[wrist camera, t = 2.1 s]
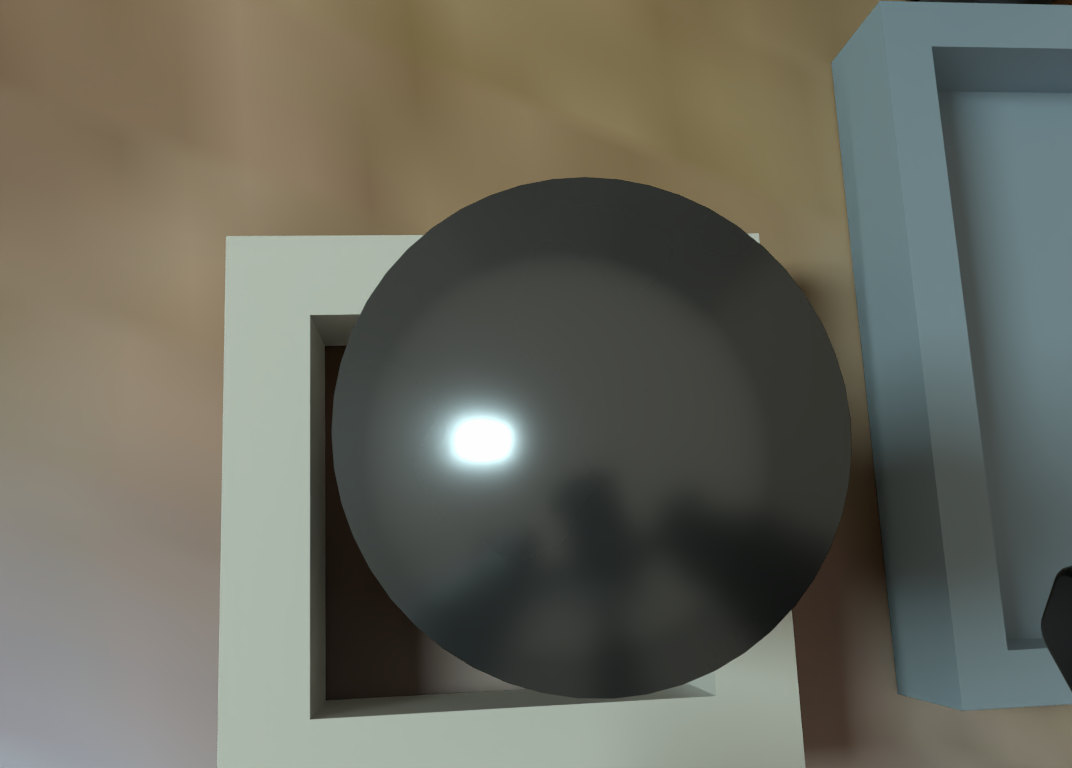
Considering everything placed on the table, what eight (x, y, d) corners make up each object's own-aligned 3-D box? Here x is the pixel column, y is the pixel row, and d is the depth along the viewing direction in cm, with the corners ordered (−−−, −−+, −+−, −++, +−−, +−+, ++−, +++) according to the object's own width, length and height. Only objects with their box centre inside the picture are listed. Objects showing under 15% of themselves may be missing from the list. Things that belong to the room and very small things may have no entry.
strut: (628, 631, 20) (915, 718, 8) (377, 644, 19) (292, 757, 7) (614, 387, 21) (853, 147, 9) (374, 393, 20) (294, 143, 8)
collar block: (759, 754, 20) (806, 780, 17) (244, 788, 18) (216, 821, 16) (721, 272, 21) (758, 233, 19) (250, 276, 20) (226, 236, 18)
